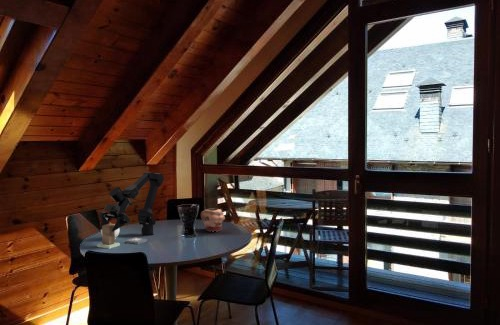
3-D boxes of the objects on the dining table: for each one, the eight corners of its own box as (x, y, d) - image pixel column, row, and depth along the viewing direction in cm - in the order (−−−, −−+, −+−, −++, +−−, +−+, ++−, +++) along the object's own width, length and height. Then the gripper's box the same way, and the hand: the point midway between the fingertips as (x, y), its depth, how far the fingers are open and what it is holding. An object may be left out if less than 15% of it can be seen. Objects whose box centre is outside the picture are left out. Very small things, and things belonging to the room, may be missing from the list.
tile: (135, 239, 227) (135, 237, 227) (147, 241, 223) (147, 238, 223) (125, 242, 220) (125, 240, 220) (137, 244, 216) (137, 241, 216)
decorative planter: (193, 230, 251) (193, 208, 250) (206, 227, 261) (205, 206, 261) (218, 234, 240) (218, 211, 239) (230, 230, 250) (230, 208, 250)
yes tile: (107, 243, 217) (107, 241, 217) (119, 245, 213) (119, 242, 213) (97, 246, 211) (97, 244, 211) (109, 248, 207) (109, 246, 207)
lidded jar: (113, 241, 223) (113, 224, 223) (96, 240, 225) (96, 224, 225) (123, 237, 234) (123, 221, 233) (107, 236, 236) (106, 220, 235)
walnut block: (108, 242, 215) (107, 224, 215) (114, 243, 213) (114, 225, 212) (102, 243, 211) (102, 225, 211) (109, 244, 209) (108, 226, 209)
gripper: (100, 197, 219) (85, 220, 209) (126, 199, 211) (110, 223, 201) (111, 209, 226) (97, 232, 217) (136, 211, 218) (122, 235, 208)
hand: (106, 230), depth 211 cm, fingers open, 9 cm apart
